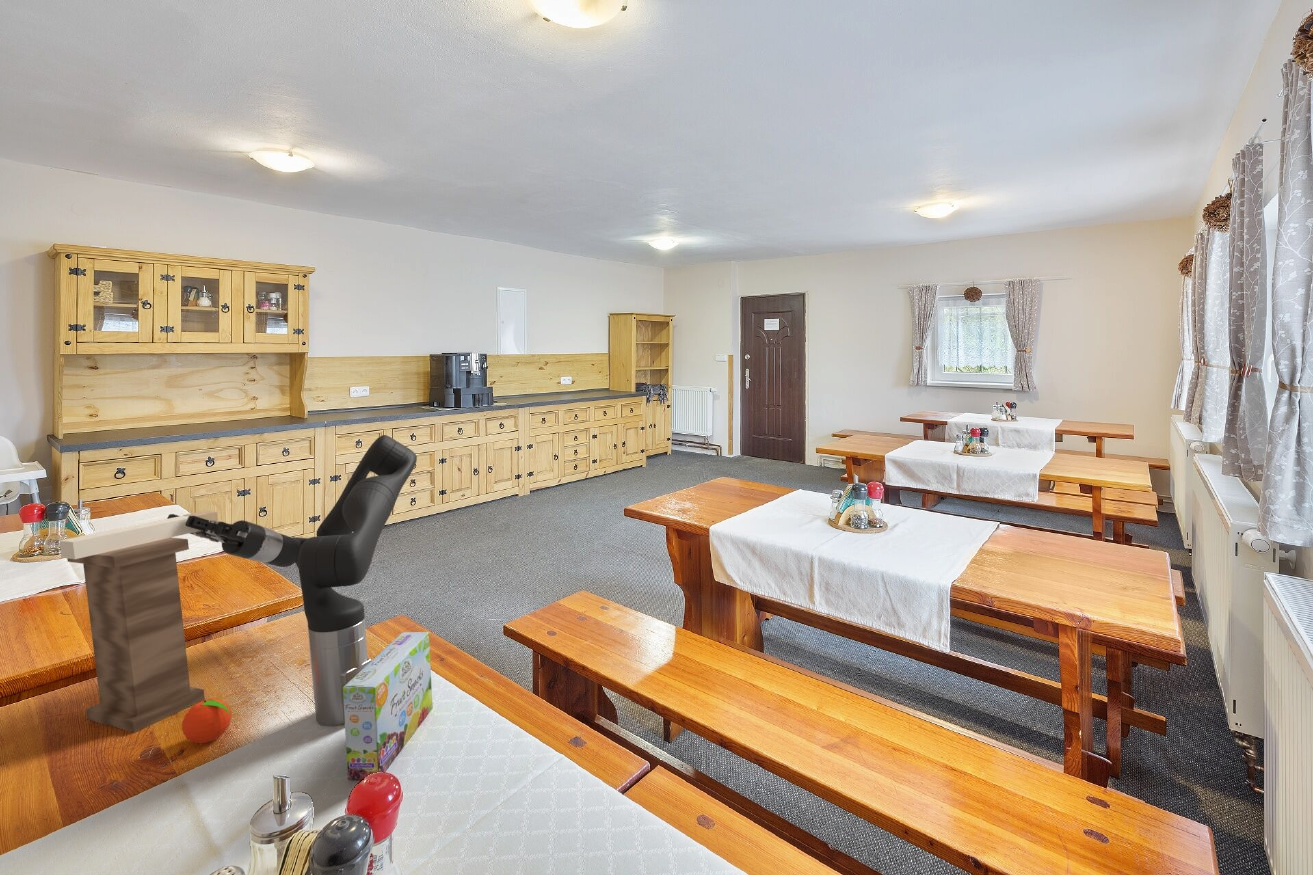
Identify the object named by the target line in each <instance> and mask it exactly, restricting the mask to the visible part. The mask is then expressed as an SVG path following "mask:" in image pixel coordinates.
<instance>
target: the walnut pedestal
mask: <svg viewBox="0 0 1313 875" xmlns="http://www.w3.org/2000/svg"><path fill="white" fill-rule="evenodd" d="M187 550H190V547H189V539H188V538H181V537H180V538H179V537H171V538H166V539H162V540H157V541H153V542H149V543H144V544H140V545H136V546H131V547H127V548H122V549H118V550H114V551H109V552H105V553H101V554H96V555H92V556H87V557H83V558H79V559H69V558H66V559H67V562H69V563H76V564H82V566H83V573H84V574H83V575H84V582H85V591H86V598H87V605H88V606H87V607H88V613H89V622H90V629H91V630H90V631H91V632H90V633H91V638H92V646H93V647H92V648H93V657H94V662H95V670H96V671H95V673H96V680H97V687H98V688H97V689H98V696H99V703H97V704H95V705H93V706H90V707H87V708H86V709H85V711H86V718H87V720H89V721H92V722H96V723H99V724H103V725H106V726H109V727H112V728H113V727H114V728H117V729H120V730H123V731H127V732H131V733H137V732H138V731H141V730H143V729H146V728H147V727H149V726H152V725H154V724H157V722H160V721H162V720H164V719H166V718H168V717H171V716H173V715H175V714H178V712H181V711H182V710H185V709H187V708H189V707H190V708H191V707H193V706H194V705H196V704H197V703H199V702H201V701H203V700H206V699H205V697H206V696H205V690H204V689H203V688H198V687H194V686H191V685H190V676H189V675H190V674H189V664H188V659H187V657H188V656H187V647H186V638H185V630H184V619H183V611H182V600H181V593H180V592H181V591H180V583H179V573H178V564H177V555H176V554H177V553H180V552H184V551H187Z"/></svg>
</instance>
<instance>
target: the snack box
mask: <svg viewBox="0 0 1313 875" xmlns="http://www.w3.org/2000/svg"><path fill="white" fill-rule="evenodd" d="M430 647H431V644H430V631H417V632H416V631H414V632H413V631H412V632H407V631H406V632H401V633H400V634H399V635H398V636H397V637H396V638H395V639H394V640H393V641H392V642H390V643H389V644H388V645H387V646H386V647H385V648H384V649H383V650H382V651H381V652H380V653H379V654H378V655H376V656H375V657H374V658H373V659H371V660H372V661H371V662H370V663H369V664H368V665H367V666H366V667H365V668H364V669H363V670H361V671H360V672H359V673H358V674H357V675H356V676H355V677H354V678H353V679H352V680H351V681H350V682H348V683H347V684H346V685H345V686H344V687H343V700H344V716H345V724H344V728H345V729H344V731H345V746H346V748H345V750H346V765H347V767H346V768H347V780H348V781H349V780H359V781H362V779H364V778H365V777H367V776H368V775H370V774H373V773H377V772H387V770H388V769H389V767H390V766H391V764H392V763H393V762H394V761H395V759H396V758H397V757H398V755H399V754H400V752H401V751H402V750H403V748H404V747H405V746H406V745H407V743H408V742H409V741H410V739H411V738H412V736H413V735H414V733H416V731H417V729H418V728H419V727H420V726H421V725H422V724H423V722H424V721H425V719H426V718H427V717H428V715H429V714H430V713H431V712H432V710H433V707H434V705H433V688H432V672H431V671H432V668H431V648H430Z"/></svg>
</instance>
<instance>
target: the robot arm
mask: <svg viewBox="0 0 1313 875" xmlns="http://www.w3.org/2000/svg"><path fill="white" fill-rule="evenodd" d="M417 459H418V457H417V454H416V453H415V452H414V451H413V450H412V449H411V448H409V447H407V446H405V445H404V444H403V443H401V442H399V441H397V440H396V439H394V438H393V437H390V436H389V435H387V434H382V435H380V436H379V437H377V439H375V440H374V442H373V443H371V445H370V446H369V447H368V449H367V450H366V452H365V454H364V455H363V457H362V458H361V460H360V461H359V463H358V465H357V467H356V468H355V470H354V471H353V473H352V475H351V477H349V480H348V481H347V483H346V484H345V487H344V489H343V491H342V492H341V494H340V496H339V497H338V500H337V501H336V503H335V504H334V506H332V509H331V510H330V511H329V513H328V514H327V515H326V517H325V518H324V520H323V521H322V522H321V524H320V525H319V526H318V528H317V530H316V536H311V537H292V536H288V535H286V534H283V533H280V532H277V531H275V530H274V529H271V528H269V527H266V526H262V525H259V524H256V523H253V522H250V521H247V520H243V519H242V520H237V521H234V523H228V522H227V523H226V522H225V521H220V520H218V521H217V522H216V521H214V520H210V522H209V520H206V519H203V518H199V517H196V516H189V517H188V519H187V521H186V524H185V525H186V526H187V527H191V528H194V529H198V530H201V531H199V532H192V533H189V534H190V535H193V536H195V537H199V538H201V539H207V540H208V541H209V542H213V543H221V549H222V551H223V552H224V553H225V554H227V555H230V556H234V557H238V558H242V559H245V560H248V561H249V560H250V561H252V562H257V563H265V564H268V565H272V566H276V567H280V568H288V567H290V566H292V565H294V564H295V565H296V567H297V569H298V575H299V582H300V588H301V593H302V601H303V602H302V603H303V610H304V614H305V618H306V622H307V630H308V642H309V654H310V667H311V677H312V678H311V679H312V691H313V700H314V710H315V721H316V720H317V721H316V722H317V723H318V724H319V723H320V724H319V725H322V726H330V727H331V726H340V725H345V716H344V700H343V687H344V686H345V685H346V684H347V683H348V682H350V681H351V680H352V679H353V678H354V677H355V676H356V675H357V674H358V673H359V672H360V671H361V670H363V669H364V668H365V667H366V666H367V665H368V664H369V663H370V662H371V661H372V660H373V659H371V658H369V657H368V646H367V645H368V644H367V643H368V642H367V631H366V629H367V628H366V620H365V618H366V616H365V607H364V604H363V602H361V601H360V600H359V599H356V598H353V597H349V596H346V595H344V594H340V593H339V592H337V591H336V590H334V589H333V588H341V587H350V586H355V585H357V584H360V583H361V582H362V581H363V580H364V579H365V577H366V576H367V573H368V572H369V569H370V566H371V563H372V560H373V557H374V554H375V551H376V549H377V548H376V547H377V544H378V542H379V539H380V535H381V533H382V532H383V529H384V527H385V525H386V523H387V521H388V520H389V519H390V518H389V517H390V516H391V514H392V512H393V510H394V507H395V505H396V502H397V500H398V497H399V495H400V494H401V493H400V492H401V490H402V489H403V488H404V485H405V484H406V482H407V480H408V479H409V477H410V476H411V474H412V472H413V471H414V469H415V467H416V464H417V461H418V460H417ZM370 473H374V474H375V475H374V476H369V477H368V475H369V474H370ZM179 516H180V515H177V514H174V513H170V514H168V516H167V518H166V519H169V518H174V517H179Z"/></svg>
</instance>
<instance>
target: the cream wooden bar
mask: <svg viewBox="0 0 1313 875" xmlns="http://www.w3.org/2000/svg"><path fill="white" fill-rule="evenodd" d="M178 516H179V517H174V518H169V519H167V518H163V519H160V520H154V521H150V522H149V521H148V522H145V523H140V524H134V525H130V526H125V527H120V528H115V529H110V530H104V531H100V532H96V533H92V534H85V535H81V536H75V537H69V538H66V539H61V540H59V548H60V557H61V559H62V558H63V559H67V558H69V559H79V558H83V557H87V556H92V555H96V554H101V553H105V552H109V551H114V550H118V549H122V548H127V547H131V546H136V545H140V544H144V543H149V542H153V541H157V540H162V539H166V538H171V537H172V538H176V537H179V536H183V535H188V534H190V533H192V532H199V531H201V530H198V529H194V528H191V527H187V526H186V525H185V524H186V521H187V519H188V517H189V516H196V517H199V518H203V519H206V520H209V522H210V520H214V521H216V522H217V521H219V517H218V511H210V510H202V511H196V512H192V513H186V514H183V515H178Z"/></svg>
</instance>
